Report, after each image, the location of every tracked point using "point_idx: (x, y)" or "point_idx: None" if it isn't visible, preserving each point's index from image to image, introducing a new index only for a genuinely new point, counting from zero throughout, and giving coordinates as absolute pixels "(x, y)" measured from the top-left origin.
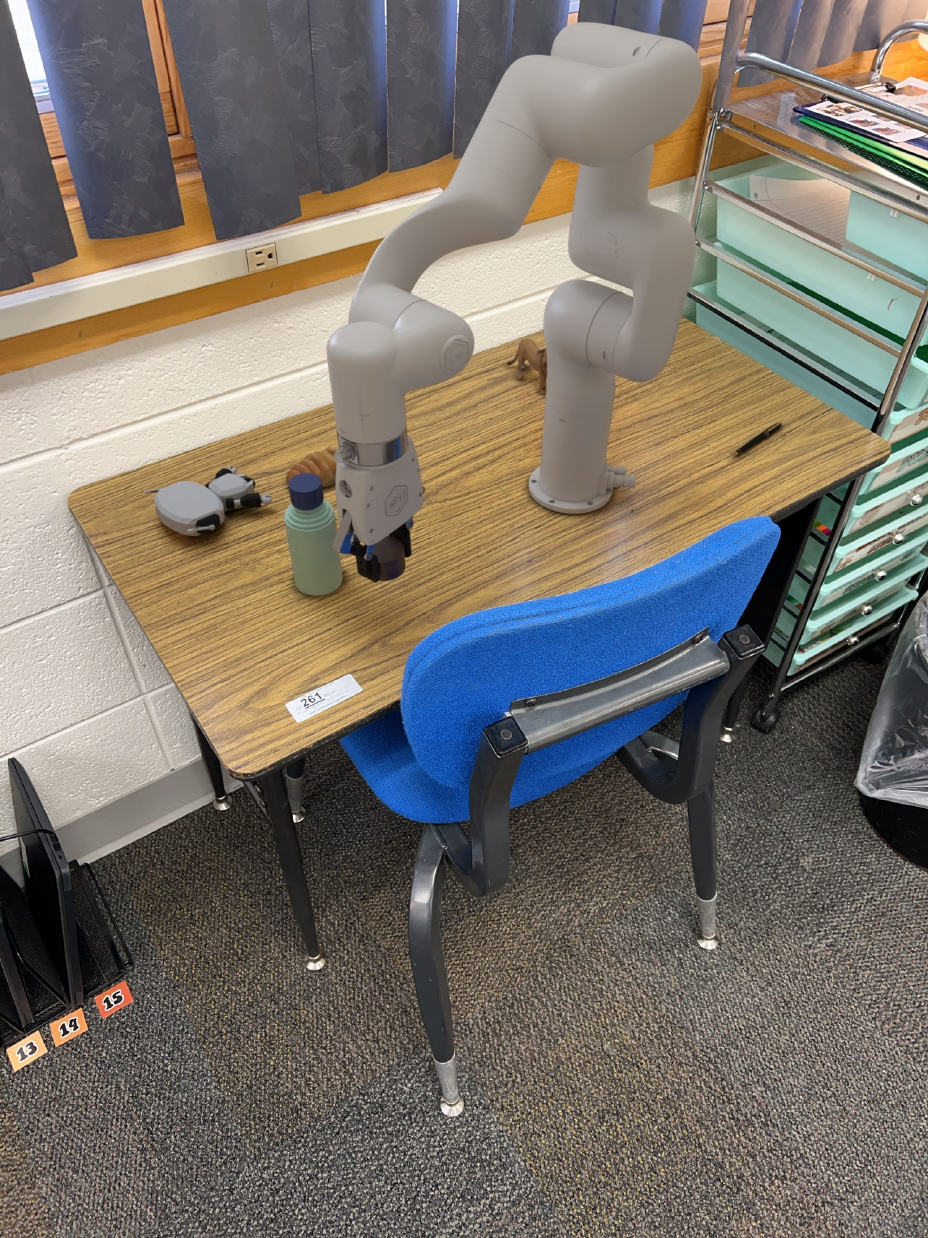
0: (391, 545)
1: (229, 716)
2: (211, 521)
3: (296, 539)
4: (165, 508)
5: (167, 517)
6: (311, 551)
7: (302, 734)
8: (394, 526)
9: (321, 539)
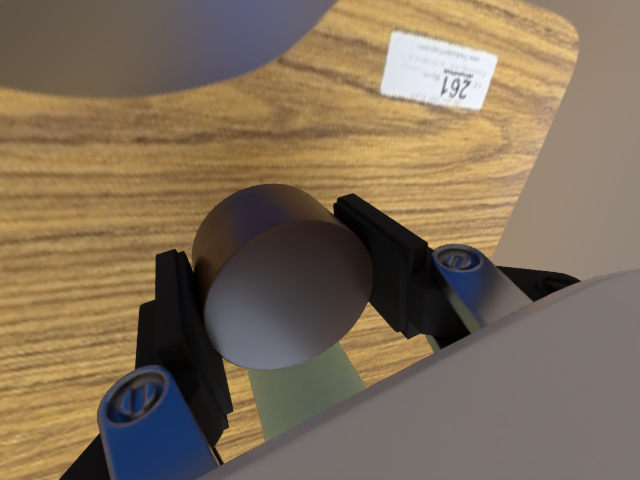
0: (257, 308)
1: (524, 143)
2: None
3: None
4: None
5: None
6: (348, 371)
7: (512, 26)
8: (490, 392)
9: (340, 396)
